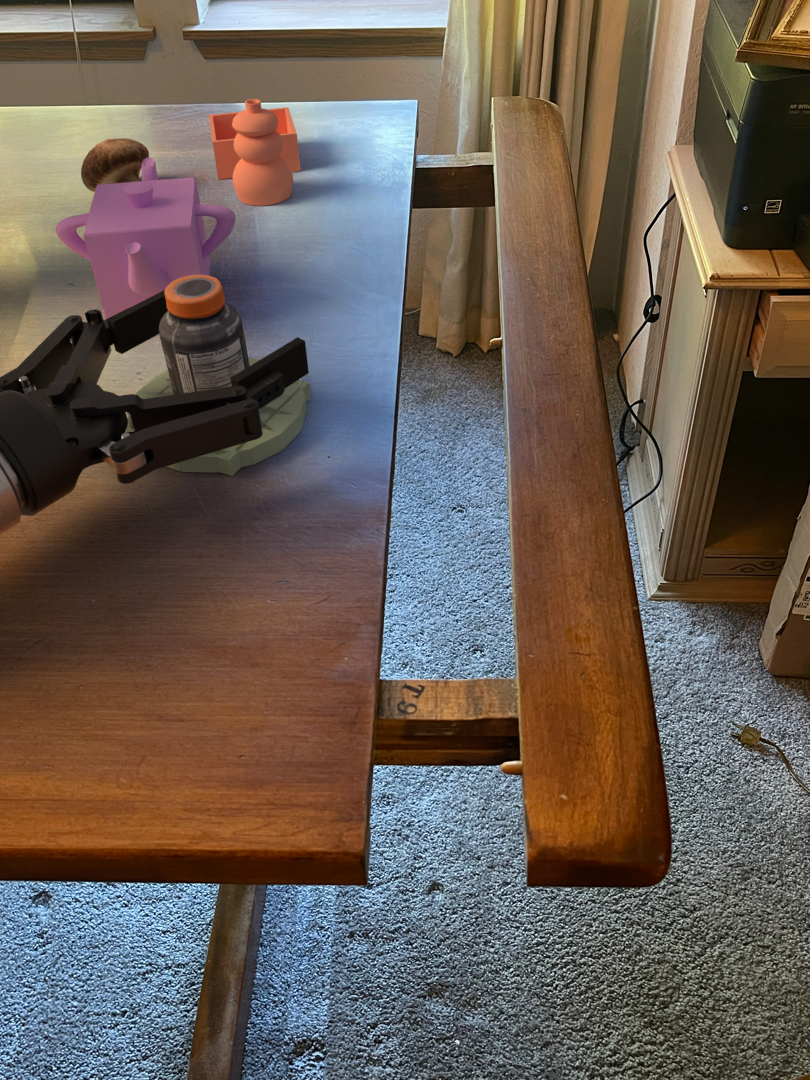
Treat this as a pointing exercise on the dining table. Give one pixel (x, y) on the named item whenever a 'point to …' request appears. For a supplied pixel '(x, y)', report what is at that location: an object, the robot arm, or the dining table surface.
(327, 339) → the dining table surface
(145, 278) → the teapot
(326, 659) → the dining table surface
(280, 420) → the hole board
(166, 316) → the pill bottle
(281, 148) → the pottery
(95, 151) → the mushroom
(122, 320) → the robot arm
